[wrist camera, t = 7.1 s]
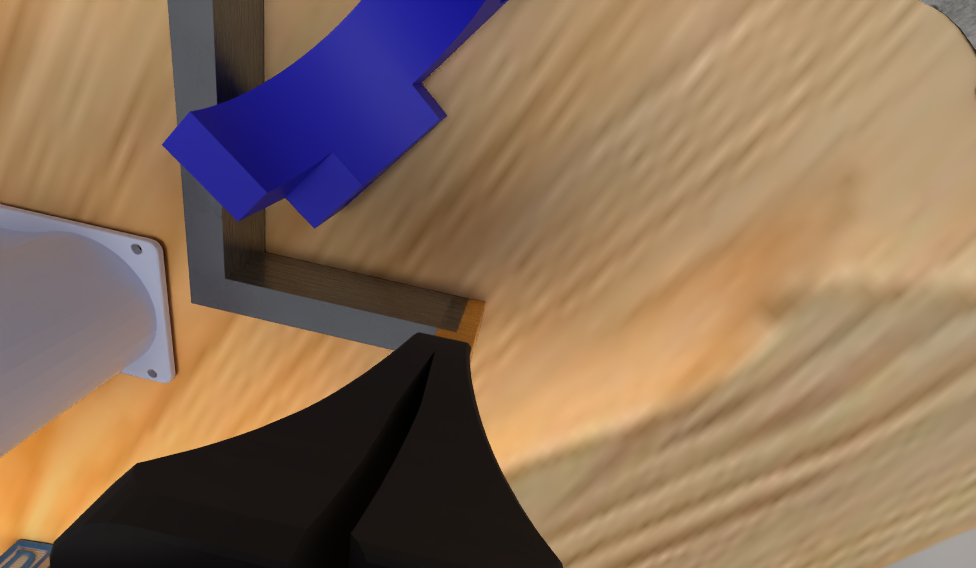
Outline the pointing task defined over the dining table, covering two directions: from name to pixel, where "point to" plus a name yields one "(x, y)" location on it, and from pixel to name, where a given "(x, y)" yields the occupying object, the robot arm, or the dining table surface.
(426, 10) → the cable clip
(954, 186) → the dining table surface
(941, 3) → the axe
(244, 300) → the keeper cradle
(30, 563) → the stack of blocks
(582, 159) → the dining table surface
